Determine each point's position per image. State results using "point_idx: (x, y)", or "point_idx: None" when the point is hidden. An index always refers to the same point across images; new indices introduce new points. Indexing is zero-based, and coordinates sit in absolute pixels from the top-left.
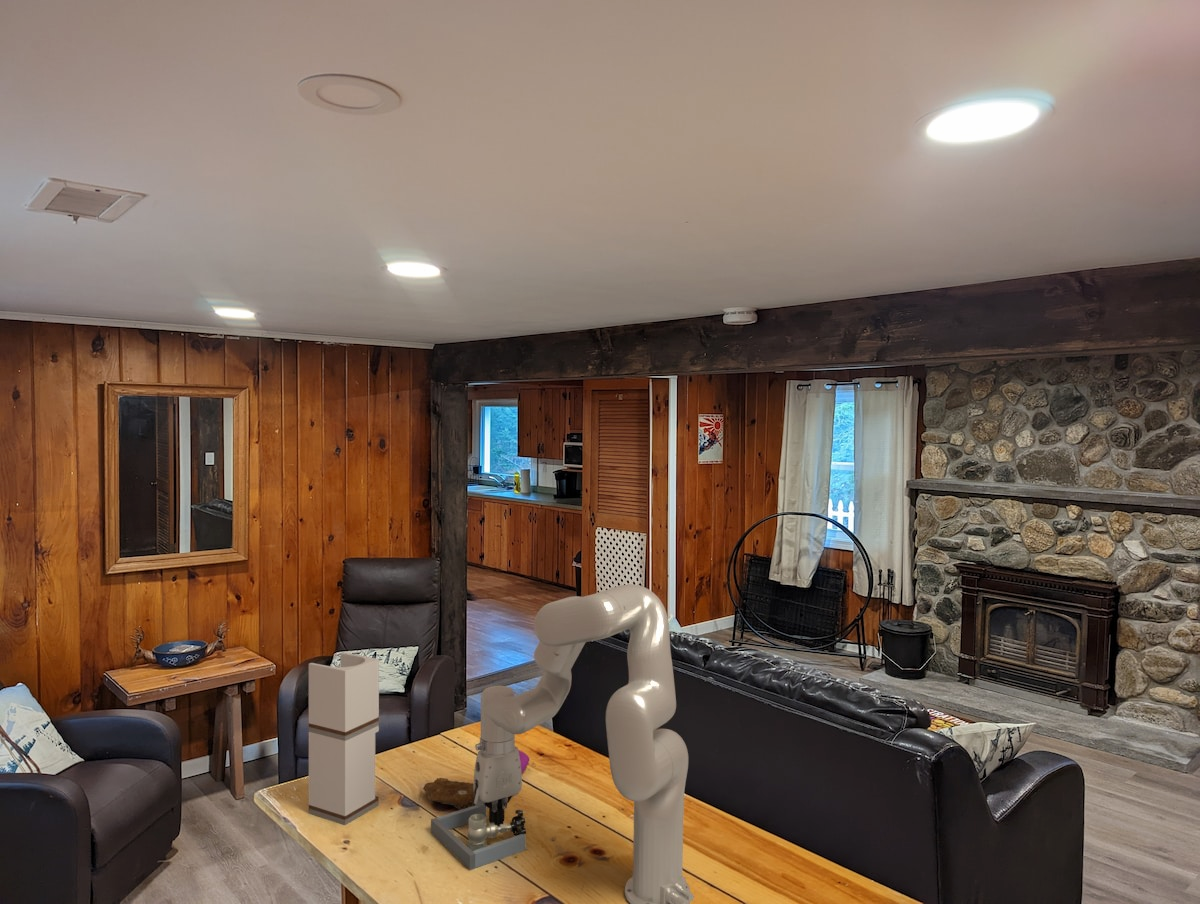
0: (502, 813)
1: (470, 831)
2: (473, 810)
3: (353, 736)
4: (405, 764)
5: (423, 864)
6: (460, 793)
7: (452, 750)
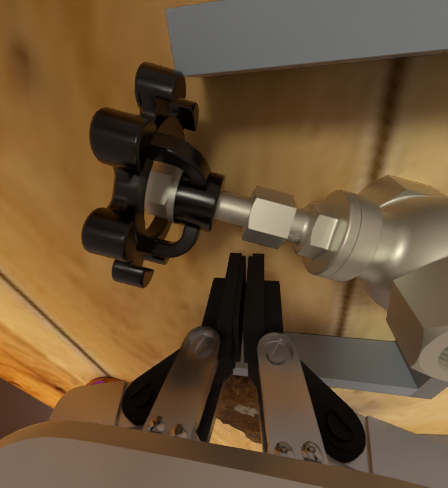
0: (226, 307)
1: None
2: None
3: None
4: (259, 447)
5: None
6: (253, 411)
7: None
